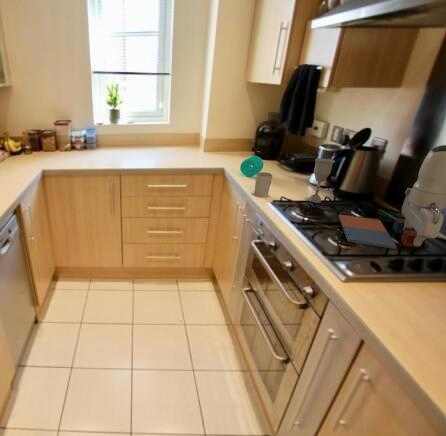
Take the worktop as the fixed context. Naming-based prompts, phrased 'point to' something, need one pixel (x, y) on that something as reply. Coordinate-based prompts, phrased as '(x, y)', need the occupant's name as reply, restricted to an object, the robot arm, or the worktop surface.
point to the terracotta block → (409, 238)
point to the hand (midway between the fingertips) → (411, 238)
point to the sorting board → (366, 231)
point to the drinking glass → (262, 184)
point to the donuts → (247, 167)
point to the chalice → (321, 175)
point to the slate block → (399, 225)
